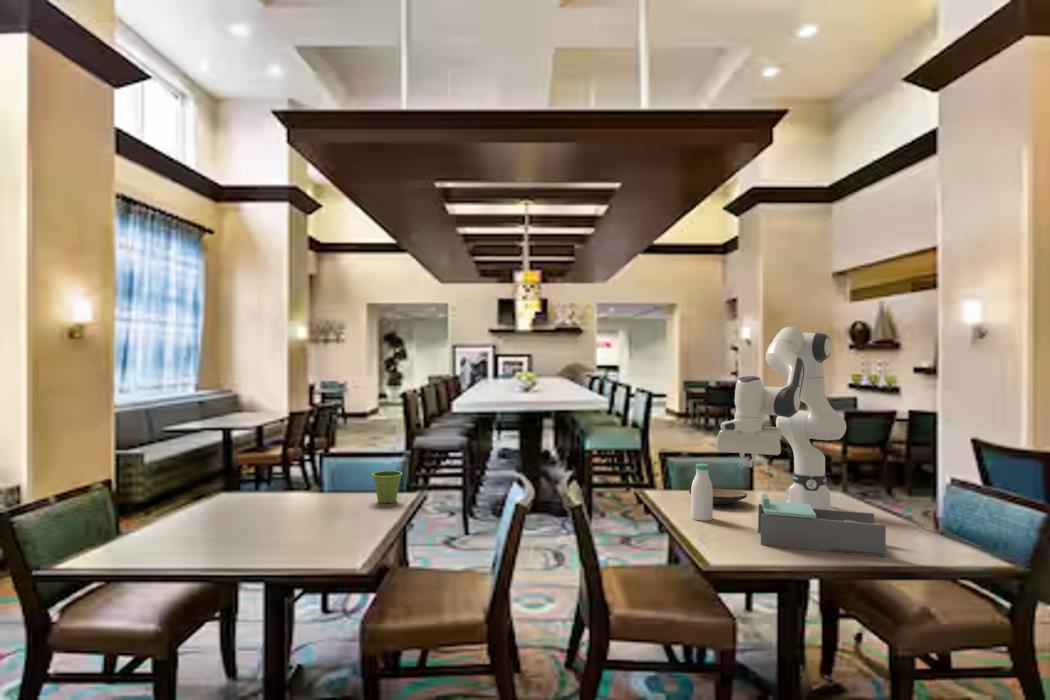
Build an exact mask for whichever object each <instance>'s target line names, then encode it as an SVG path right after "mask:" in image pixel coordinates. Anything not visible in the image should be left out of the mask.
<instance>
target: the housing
mask: <svg viewBox="0 0 1050 700" xmlns="http://www.w3.org/2000/svg"><path fill="white" fill-rule="evenodd" d="M812 509H813V511H814V512H815V514H816V519H815V518H803V517H791V516H779V515H767V514H764V510H763V506H762V503H758V515H757V517H758V518H757V519H758V520H757V521H758V522H757V523H758V526H757V527H758V528H757V533H759V532H761V533H760V545H761V546H767V545H771V546H770V547H777V546H780V547H779V548H790V549H798V548H799V549H798V550H808V549H812V550H811V551H818V550H821V551H820V552H828V551H833V552H832V553H838V552H844V553H843V554H848V553H855V554H854V555H858V554H865V555H864V556H868V555H874V556H873V557H878V556H885V557H886V546H887V545H886V542H887V541H886V537H887V536H886V535H887V534H886V533H887V531H886V528H887V525H885V524H882V523H875V513H874V512H868V511H867V512H865V511H863V512H862V511H853V510H852V511H851V510H839V509H835V510H830V509H817V508H812ZM844 520H854V521H857V522H849V521H844Z"/></svg>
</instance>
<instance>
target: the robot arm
mask: <svg viewBox="0 0 1050 700" xmlns="http://www.w3.org/2000/svg"><path fill="white" fill-rule="evenodd" d="M831 340H832V339H831V338H830V337H829V336H828V334H826V333H822V332H821V333H820V332H816V333H814V332H803V331H801V329H799V328H797V327H794V326H786V327H783V328H782V329H781V330H780V331H779V332H777V334H775V335H774V336H773V337H772V338H771V339H770V341H769V342H770V343H769V346H768V347H767V349H766V353H765V360H766V363H767V366H769V368H770V369H771V370H772V371H774V373H775V372H776V373H778V374H780V375H783V376H787V377H788V378H787V382H786V385H783V386H767V385H766V386H764V385H763V383H762V380H761V378H760V377H758V376H756V375H755V376H752V375H751V376H750V375H749V376H748V375H746V376H742V377H741V376H740V377H739V378H738V379H737V380H736V384H735V393H734V405H735V412H734V419H730V420H726V421H722V422H721V423H720V430H718V434H717V439H716V446H715V447H716V449H715V450H717V451H718V453H720V452H721V453H732V454H733V453H734V454H736V453H738V454H739V457H740V459H741V461H742V466H743V468H744V467H745V468H753V463H754V461H755V460H756V458H757V455H768V456H769V455H771V456H779V455H780V454H781V452H782V448H781V440H782V437H783V438H785V439H786V440H787V442H788V443H789V445H790V447H791V450H792V452H793V463H794V464H793V465H794V466H793V467H794V468H793V469H794V471H793V473H792V474H793V475H792V482H793V483H792V484H791V485H790V486H789V488H788V489H786V496H787V499H786V500H785V502H791V503H803V504H810V506H811V507H812V508H817V509H830V510H836V508H834V507H833V506H832V502H831V499H832V498H831V490H830V489H829V487H828V486H827V474H826V456H825V454H824V453H823V452H822V451H821V450H820V449H818V448H816V447H814V446H813V445H812V444H811V441H810V439H812V440H821V441H834V440H840V439H842V438H843V436H845V434H846V431H847V423H846V420H845V418H844V417H843V416H842V415H841V414H839V413H838V412H837V411H836V410H835V409H834V408H833V407H832V406H831V404H830V402H829V400H828V398H827V393H826V385H825V367H824V361H826V360H827V359H828V358H829V357H830V356H831V352H832V345H833V344H832V342H831ZM801 402H802V403H805V404H806V405H807V406H808V409H809V410H801V409H800V405H801ZM763 415H767V416H777V417H776V419H775V425H776V426H769V425H763V422H764V421H763V418H764V417H763ZM745 454H751V459H750V460H745V458H744V457H745Z"/></svg>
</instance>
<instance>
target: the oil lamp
mask: <svg viewBox="0 0 1050 700" xmlns="http://www.w3.org/2000/svg"><path fill="white" fill-rule="evenodd" d="M695 476H696V475H694V476H693V479H692V480H694V478H695ZM712 488H713V487H712ZM688 494H690V495H691V489H689V491H688ZM747 496H748V493H746V492H744V491H741V490H736V489H735V490H734V489H726V488H716V487H715V488H713V505H730V504H733V503H736V502H739V501H741V500H744V499H746V498H747Z"/></svg>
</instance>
